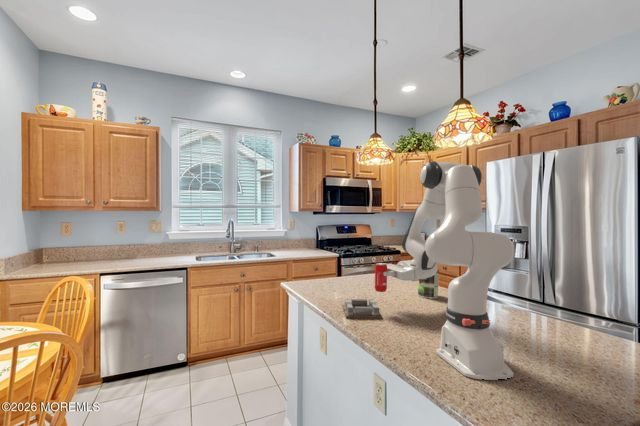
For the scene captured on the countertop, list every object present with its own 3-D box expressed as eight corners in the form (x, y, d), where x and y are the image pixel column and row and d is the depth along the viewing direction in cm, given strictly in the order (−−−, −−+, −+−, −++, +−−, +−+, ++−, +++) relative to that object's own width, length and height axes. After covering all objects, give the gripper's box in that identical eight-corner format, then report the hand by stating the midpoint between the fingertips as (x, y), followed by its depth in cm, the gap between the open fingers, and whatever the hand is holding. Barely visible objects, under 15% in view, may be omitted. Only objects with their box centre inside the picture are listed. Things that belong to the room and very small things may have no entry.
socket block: (381, 318, 130) (382, 309, 130) (346, 318, 130) (346, 308, 130) (374, 307, 145) (374, 298, 145) (342, 306, 145) (342, 298, 144)
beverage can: (377, 292, 135) (378, 265, 134) (372, 289, 140) (373, 262, 139) (388, 291, 136) (389, 264, 136) (383, 288, 141) (383, 262, 141)
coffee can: (425, 299, 159) (426, 271, 159) (413, 294, 169) (414, 268, 169) (442, 298, 162) (443, 271, 162) (429, 292, 172) (430, 267, 172)
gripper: (391, 259, 152) (367, 261, 146) (420, 267, 133) (393, 269, 127) (391, 272, 152) (367, 274, 146) (420, 282, 133) (393, 285, 127)
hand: (379, 272), depth 137 cm, fingers closed on beverage can, 4 cm apart
